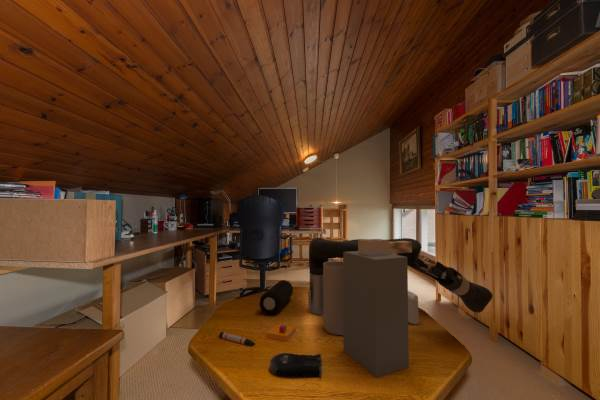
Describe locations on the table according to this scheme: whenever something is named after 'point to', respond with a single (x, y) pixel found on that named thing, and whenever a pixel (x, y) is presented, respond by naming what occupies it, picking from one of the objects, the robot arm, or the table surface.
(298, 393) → the table surface
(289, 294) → the portable speaker
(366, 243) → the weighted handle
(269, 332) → the orange wooden platform
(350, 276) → the tall shelf
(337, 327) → the cylinder vase
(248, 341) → the marker
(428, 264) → the robot arm
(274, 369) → the electronic device
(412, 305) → the photo printer
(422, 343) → the table surface
